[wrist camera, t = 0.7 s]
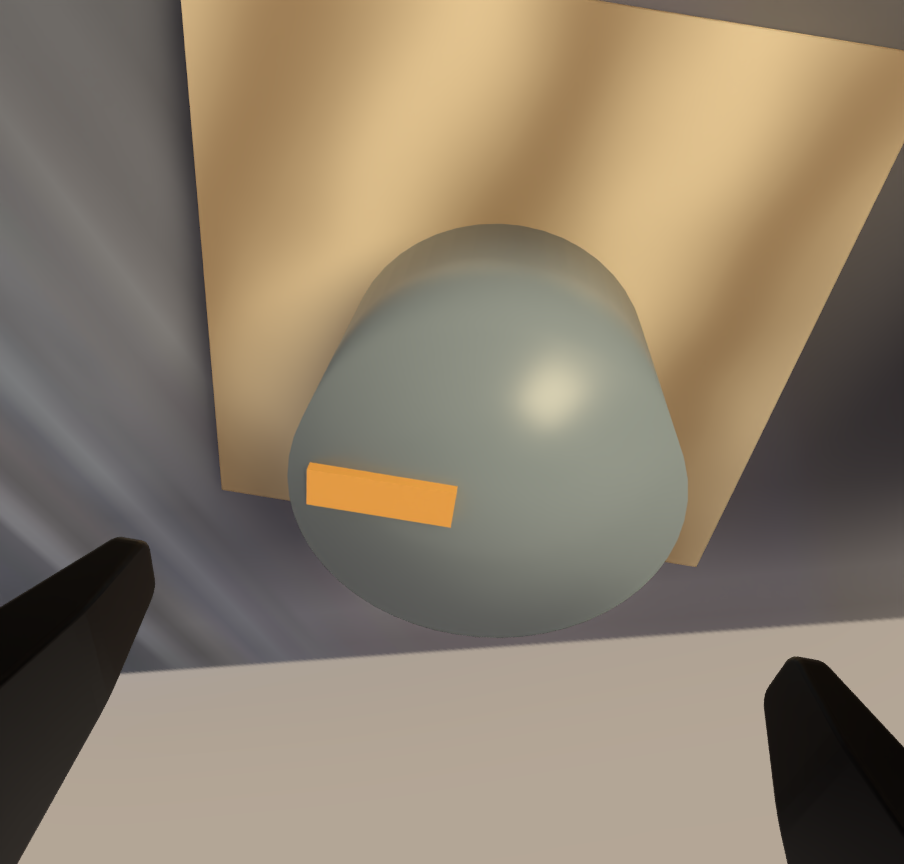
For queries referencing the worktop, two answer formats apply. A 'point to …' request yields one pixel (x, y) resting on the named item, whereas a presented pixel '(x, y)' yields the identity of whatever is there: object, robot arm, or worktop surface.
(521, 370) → the cap
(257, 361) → the base
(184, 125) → the worktop surface
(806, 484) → the worktop surface
